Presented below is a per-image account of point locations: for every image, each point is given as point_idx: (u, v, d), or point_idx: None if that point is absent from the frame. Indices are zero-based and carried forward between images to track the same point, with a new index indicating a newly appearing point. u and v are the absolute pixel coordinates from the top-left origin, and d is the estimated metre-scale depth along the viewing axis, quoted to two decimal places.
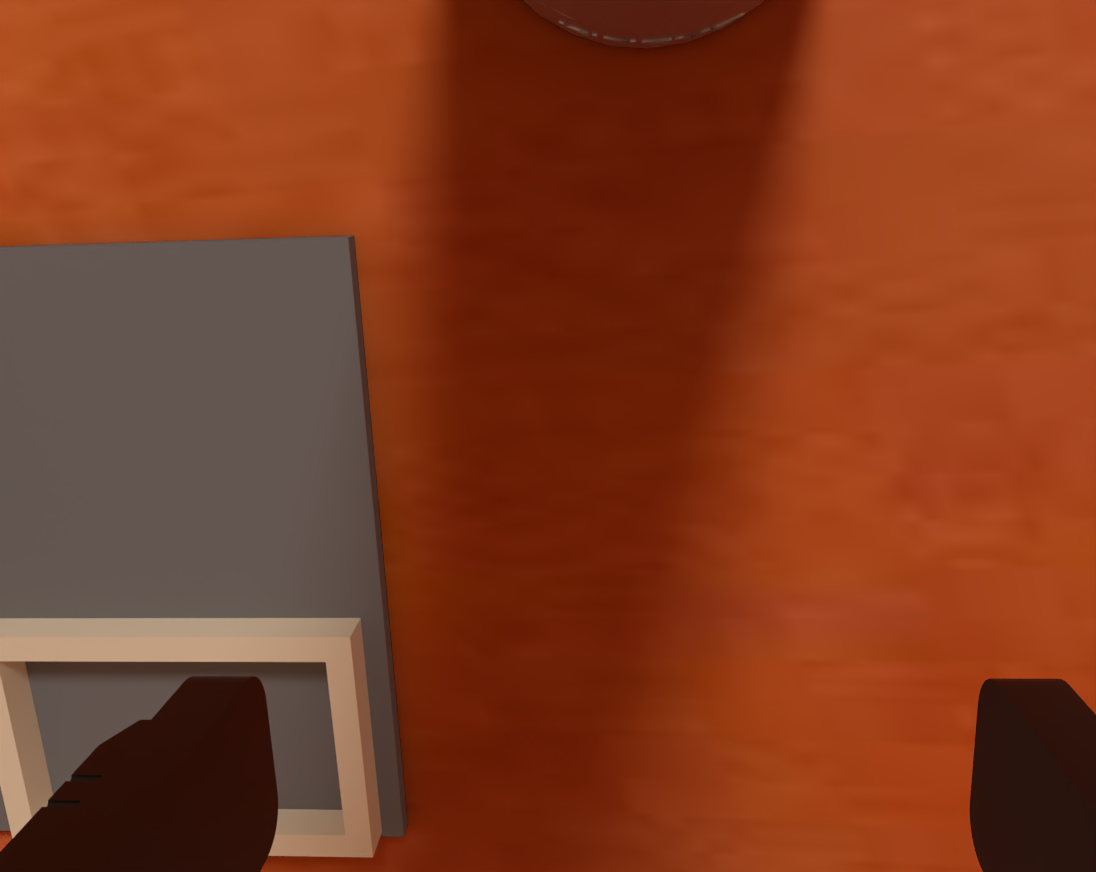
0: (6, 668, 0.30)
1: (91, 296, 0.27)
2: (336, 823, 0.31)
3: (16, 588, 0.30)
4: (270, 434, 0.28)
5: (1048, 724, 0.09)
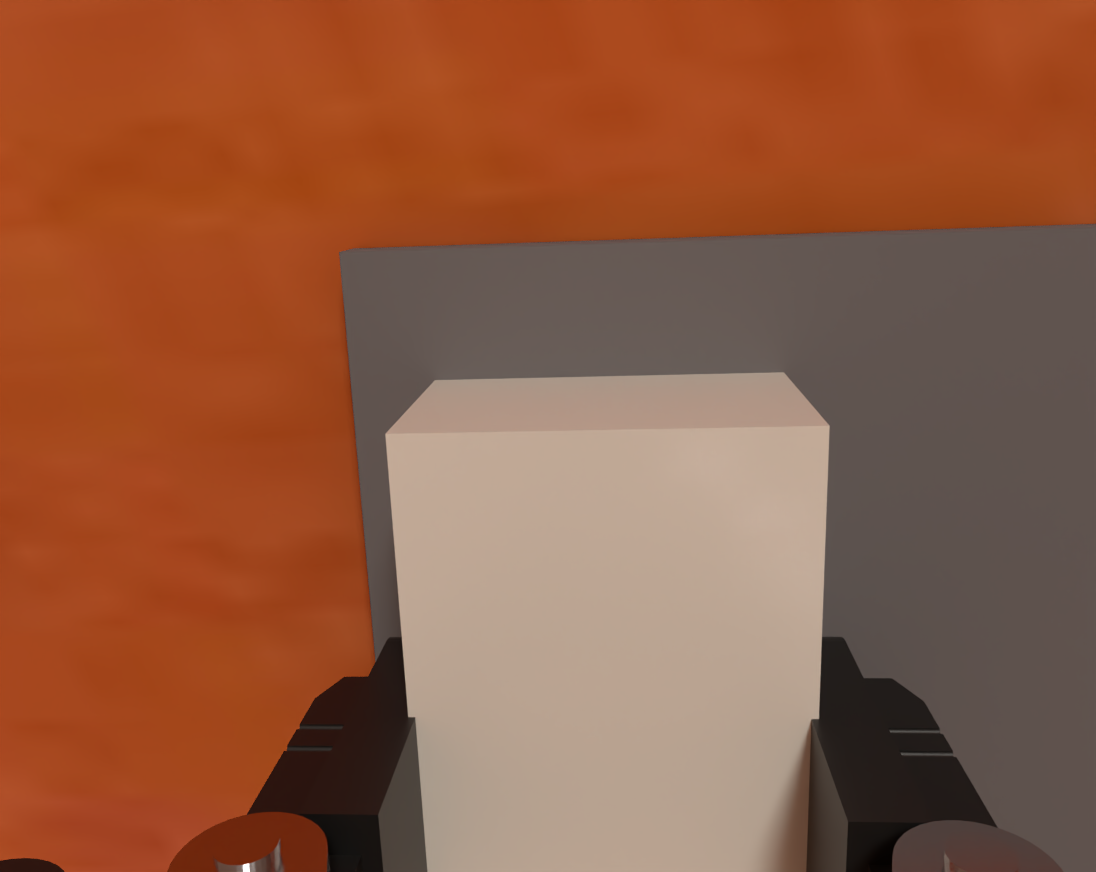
0: None
1: None
2: None
3: None
4: None
5: None
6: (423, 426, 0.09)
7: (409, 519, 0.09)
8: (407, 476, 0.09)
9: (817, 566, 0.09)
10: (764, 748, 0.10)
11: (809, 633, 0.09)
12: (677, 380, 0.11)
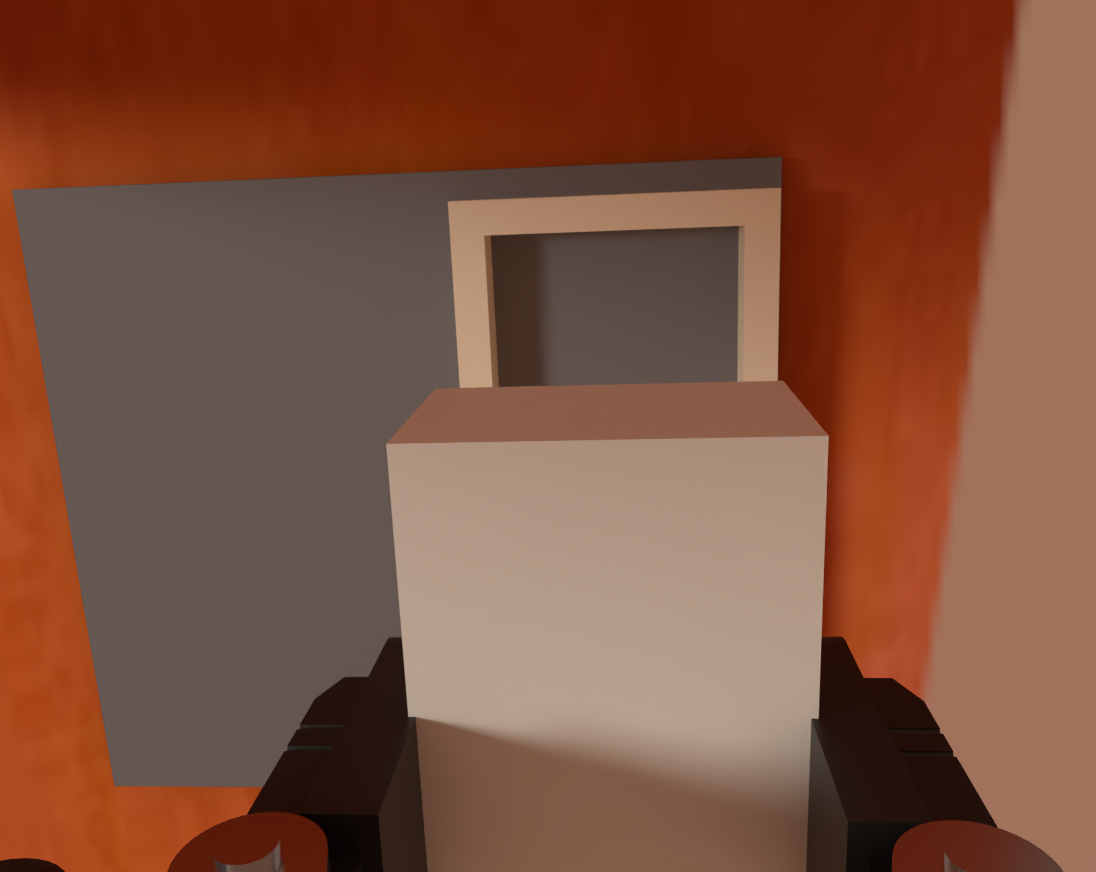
0: None
1: (109, 470, 0.26)
2: (741, 244, 0.23)
3: None
4: (236, 293, 0.25)
5: None
6: (423, 436, 0.09)
7: (410, 529, 0.09)
8: (408, 486, 0.09)
9: (816, 575, 0.09)
10: (764, 756, 0.10)
11: (808, 642, 0.09)
12: (677, 389, 0.11)
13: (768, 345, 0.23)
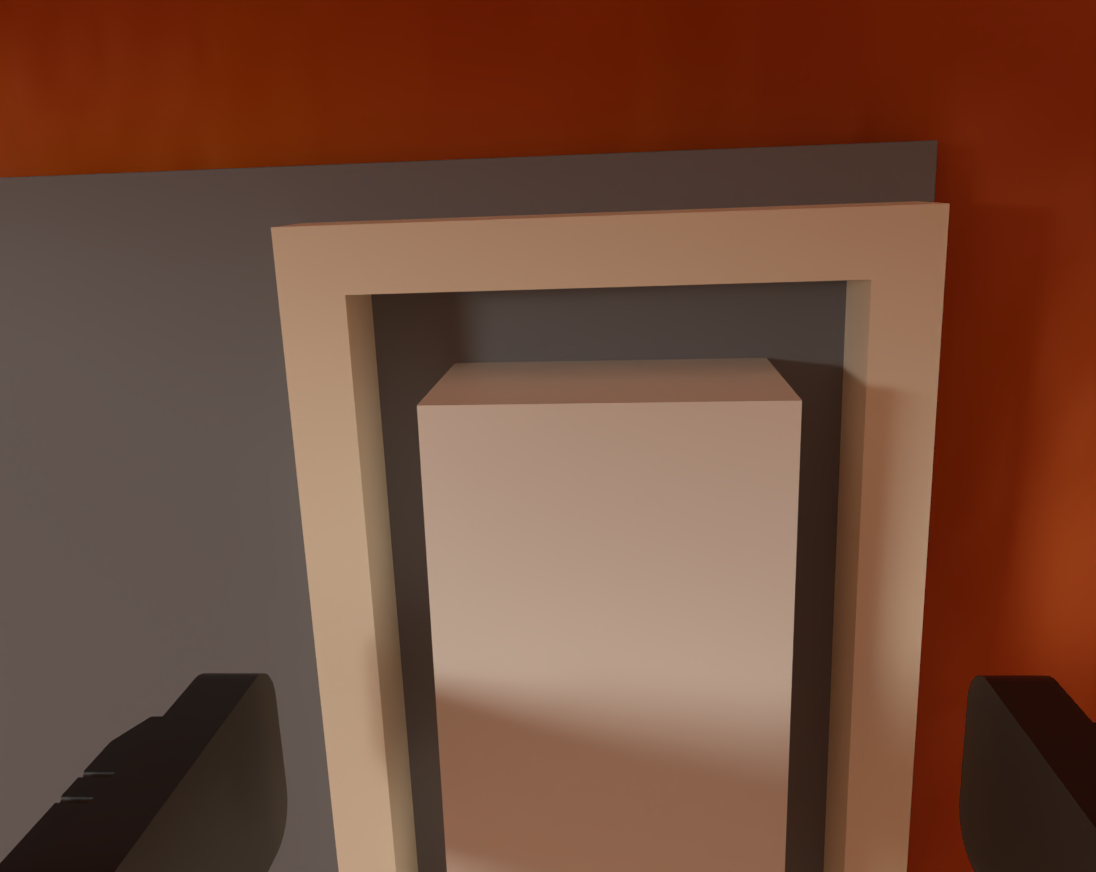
0: None
1: None
2: (857, 313, 0.12)
3: None
4: None
5: (1035, 720, 0.09)
6: (449, 400, 0.11)
7: (436, 481, 0.11)
8: (435, 443, 0.10)
9: (791, 523, 0.10)
10: (745, 685, 0.11)
11: (784, 582, 0.11)
12: (671, 364, 0.12)
13: (910, 514, 0.12)
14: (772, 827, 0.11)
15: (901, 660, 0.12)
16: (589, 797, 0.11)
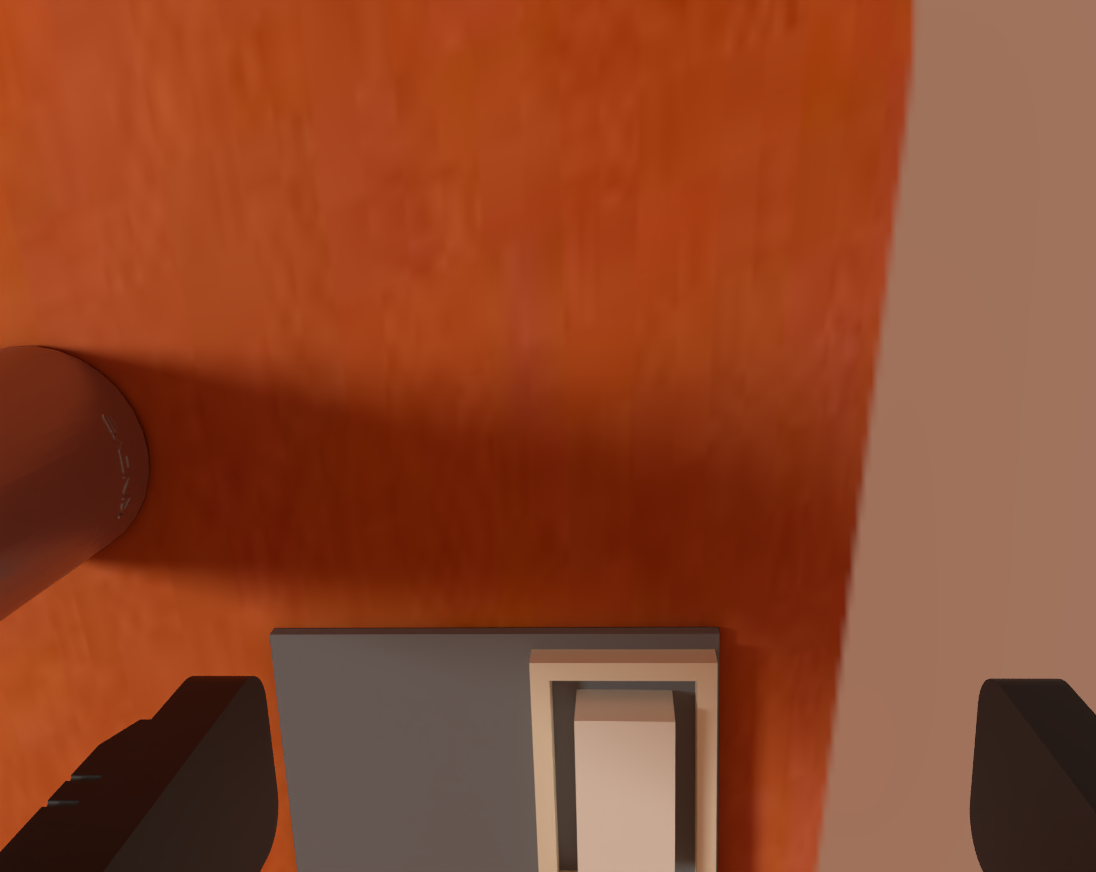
0: None
1: (317, 786, 0.43)
2: (696, 684, 0.40)
3: (519, 865, 0.44)
4: (399, 693, 0.42)
5: (1048, 724, 0.09)
6: (582, 717, 0.39)
7: (578, 739, 0.39)
8: (578, 730, 0.39)
9: (673, 751, 0.39)
10: (662, 793, 0.39)
11: (672, 766, 0.39)
12: (643, 694, 0.41)
13: (711, 742, 0.40)
14: (670, 832, 0.40)
15: (711, 782, 0.41)
16: (618, 823, 0.40)
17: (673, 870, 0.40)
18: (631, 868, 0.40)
